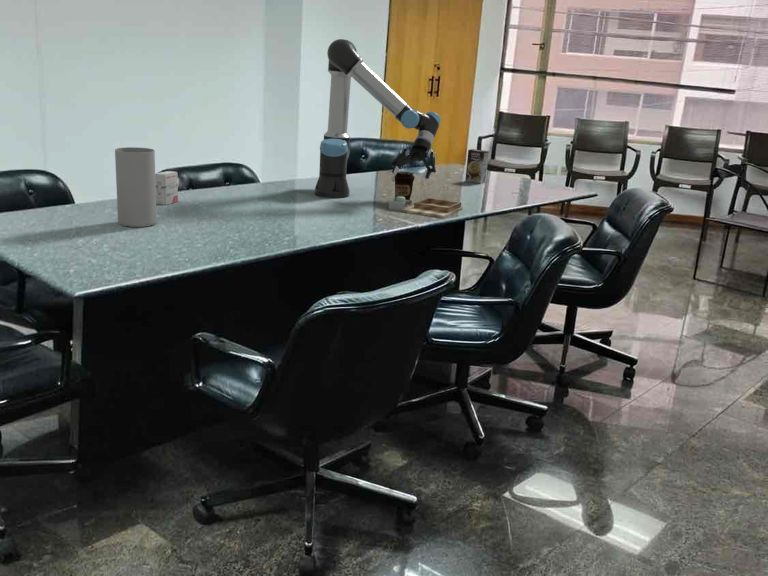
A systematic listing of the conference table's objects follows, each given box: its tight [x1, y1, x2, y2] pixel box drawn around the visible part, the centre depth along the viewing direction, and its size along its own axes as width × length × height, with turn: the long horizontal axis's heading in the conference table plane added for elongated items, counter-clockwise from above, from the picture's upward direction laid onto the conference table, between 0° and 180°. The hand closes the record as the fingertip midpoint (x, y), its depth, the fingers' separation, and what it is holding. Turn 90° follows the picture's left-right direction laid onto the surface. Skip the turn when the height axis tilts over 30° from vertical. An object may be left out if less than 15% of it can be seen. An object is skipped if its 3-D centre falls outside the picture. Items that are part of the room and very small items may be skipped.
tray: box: [401, 197, 463, 219], centre depth 314 cm, size 18×22×3 cm
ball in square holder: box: [388, 198, 413, 212], centre depth 313 cm, size 7×7×4 cm
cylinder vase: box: [114, 146, 158, 228], centre depth 258 cm, size 12×12×25 cm
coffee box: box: [464, 148, 490, 185], centre depth 390 cm, size 9×6×16 cm
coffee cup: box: [394, 171, 416, 200], centre depth 324 cm, size 9×8×13 cm
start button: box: [396, 196, 405, 202], centre depth 313 cm, size 4×4×4 cm
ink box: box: [155, 170, 179, 206], centre depth 296 cm, size 9×5×12 cm, turn 160°
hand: (407, 181), depth 326 cm, fingers open, 13 cm apart
